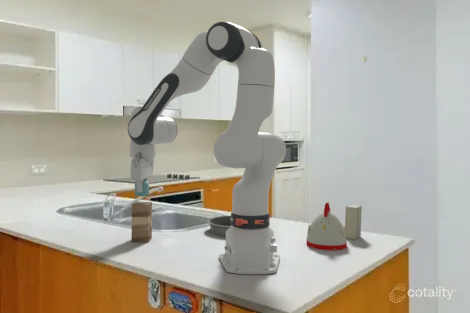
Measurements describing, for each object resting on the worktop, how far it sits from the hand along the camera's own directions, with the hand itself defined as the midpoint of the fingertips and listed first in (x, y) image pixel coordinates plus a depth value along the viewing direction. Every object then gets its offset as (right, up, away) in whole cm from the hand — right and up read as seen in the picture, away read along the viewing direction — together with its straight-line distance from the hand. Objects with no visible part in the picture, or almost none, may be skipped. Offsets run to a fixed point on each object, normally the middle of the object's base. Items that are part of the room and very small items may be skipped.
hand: (141, 190), depth 146 cm
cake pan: (+35, -18, +18) cm, 43 cm away
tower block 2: (0, -13, 0) cm, 14 cm away
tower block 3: (0, -18, +1) cm, 18 cm away
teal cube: (0, -2, 0) cm, 2 cm away
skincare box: (+79, -19, +9) cm, 81 cm away
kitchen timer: (+66, -19, -3) cm, 69 cm away
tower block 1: (0, -9, 0) cm, 9 cm away
